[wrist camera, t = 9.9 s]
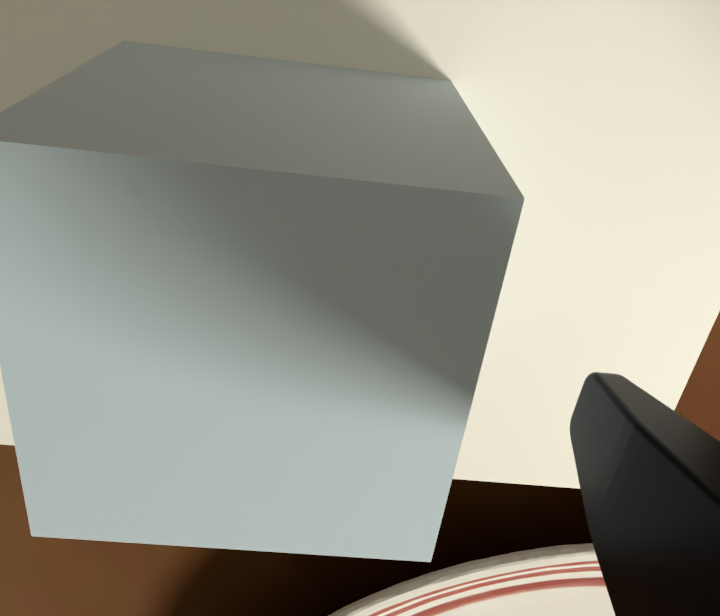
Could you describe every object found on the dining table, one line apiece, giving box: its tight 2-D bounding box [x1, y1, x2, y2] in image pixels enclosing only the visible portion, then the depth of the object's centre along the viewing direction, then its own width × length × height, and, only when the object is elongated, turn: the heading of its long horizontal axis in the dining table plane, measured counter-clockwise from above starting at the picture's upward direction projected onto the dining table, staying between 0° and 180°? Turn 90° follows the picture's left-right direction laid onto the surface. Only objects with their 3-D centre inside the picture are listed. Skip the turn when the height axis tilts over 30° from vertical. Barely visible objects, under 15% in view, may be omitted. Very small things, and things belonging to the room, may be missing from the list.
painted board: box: [0, 0, 720, 489], centre depth 15 cm, size 20×14×3 cm
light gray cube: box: [0, 41, 525, 562], centre depth 11 cm, size 6×6×6 cm
